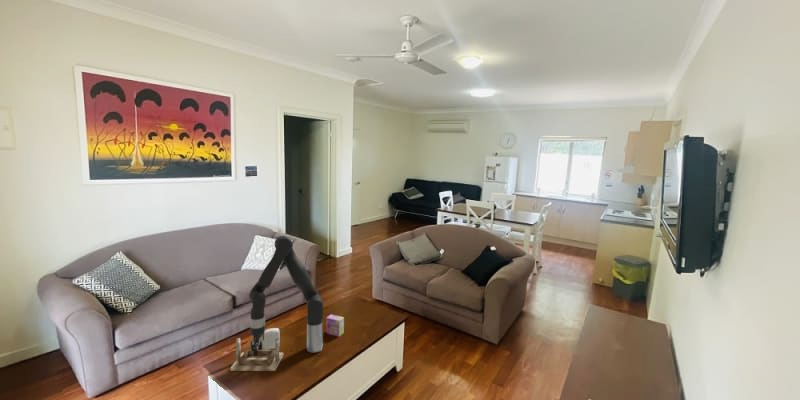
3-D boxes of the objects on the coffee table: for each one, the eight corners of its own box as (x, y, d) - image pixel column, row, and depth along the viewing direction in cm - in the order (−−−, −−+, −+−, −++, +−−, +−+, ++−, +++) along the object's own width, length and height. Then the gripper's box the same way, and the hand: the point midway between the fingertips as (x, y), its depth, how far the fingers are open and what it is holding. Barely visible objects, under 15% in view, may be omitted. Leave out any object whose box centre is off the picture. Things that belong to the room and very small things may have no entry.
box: (326, 334, 219) (326, 317, 217) (330, 330, 224) (331, 314, 223) (339, 337, 215) (339, 320, 214) (343, 333, 220) (344, 317, 219)
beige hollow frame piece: (283, 354, 194) (283, 332, 192) (275, 370, 179) (275, 346, 177) (242, 354, 192) (241, 332, 191) (230, 370, 177) (229, 346, 176)
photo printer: (279, 344, 204) (279, 325, 203) (280, 348, 201) (279, 329, 199) (261, 347, 200) (261, 328, 199) (261, 351, 196) (261, 332, 195)
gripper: (259, 331, 176) (259, 360, 178) (268, 318, 190) (269, 345, 192) (245, 331, 176) (245, 360, 177) (255, 318, 190) (256, 345, 192)
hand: (257, 352), depth 185 cm, fingers open, 6 cm apart
